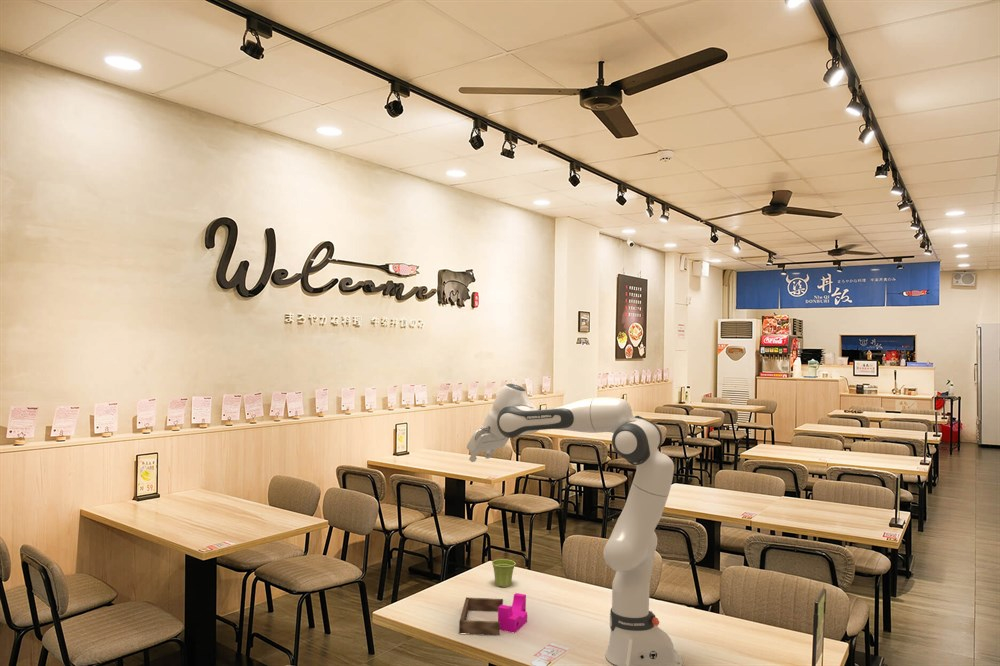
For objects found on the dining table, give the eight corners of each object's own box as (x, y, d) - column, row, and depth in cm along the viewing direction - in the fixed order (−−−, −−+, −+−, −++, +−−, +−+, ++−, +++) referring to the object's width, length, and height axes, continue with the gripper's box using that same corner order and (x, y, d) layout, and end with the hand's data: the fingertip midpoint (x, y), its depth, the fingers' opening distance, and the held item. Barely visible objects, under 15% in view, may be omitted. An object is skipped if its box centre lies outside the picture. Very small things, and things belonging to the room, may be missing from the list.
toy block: (514, 633, 218) (515, 610, 218) (497, 630, 221) (498, 607, 221) (532, 617, 232) (532, 596, 232) (515, 614, 234) (516, 592, 235)
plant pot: (505, 579, 270) (505, 557, 270) (519, 585, 263) (520, 563, 263) (486, 583, 264) (487, 561, 265) (501, 590, 257) (501, 568, 257)
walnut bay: (502, 610, 237) (502, 598, 237) (499, 635, 216) (499, 623, 216) (465, 608, 238) (466, 597, 238) (459, 633, 217) (459, 621, 217)
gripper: (486, 433, 219) (469, 468, 222) (517, 428, 237) (501, 460, 240) (472, 423, 222) (455, 457, 225) (504, 418, 240) (488, 450, 243)
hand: (479, 459), depth 233 cm, fingers open, 8 cm apart
